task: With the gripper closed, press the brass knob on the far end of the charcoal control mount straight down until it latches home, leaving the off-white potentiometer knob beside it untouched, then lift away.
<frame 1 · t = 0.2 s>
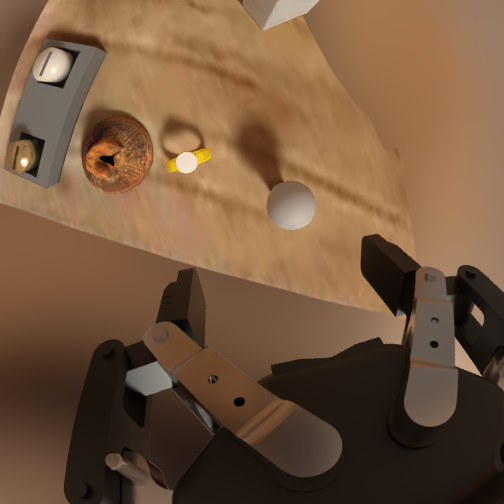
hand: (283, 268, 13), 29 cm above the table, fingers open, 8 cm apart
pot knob: (52, 65, 22), point 5 cm above the table, slide at 0.0 cm
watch: (190, 157, 37), on the table
knob mount: (53, 110, 29), on the table
broken clay vessel: (118, 154, 35), on the table
brass knob: (23, 155, 27), point 5 cm above the table, slide at 0.0 cm
lightbulb: (277, 189, 41), on the table
skincare box: (273, 10, 28), on the table
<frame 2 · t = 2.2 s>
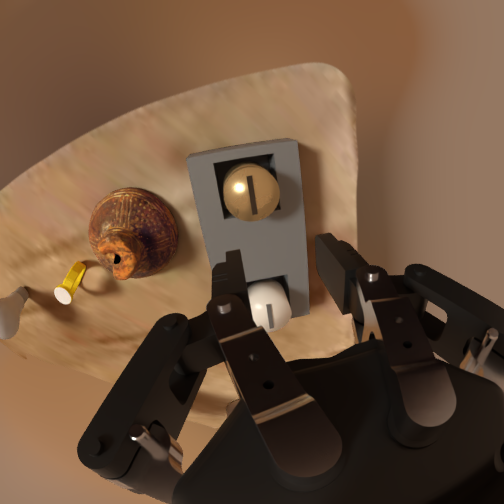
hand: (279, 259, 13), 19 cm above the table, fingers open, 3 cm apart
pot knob: (267, 305, 32), point 5 cm above the table, slide at 0.0 cm
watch: (79, 271, 33), on the table
knob mount: (253, 234, 34), on the table
broken clay vessel: (133, 231, 32), on the table
brass knob: (249, 190, 26), point 5 cm above the table, slide at 0.0 cm
lightbulb: (25, 289, 33), on the table
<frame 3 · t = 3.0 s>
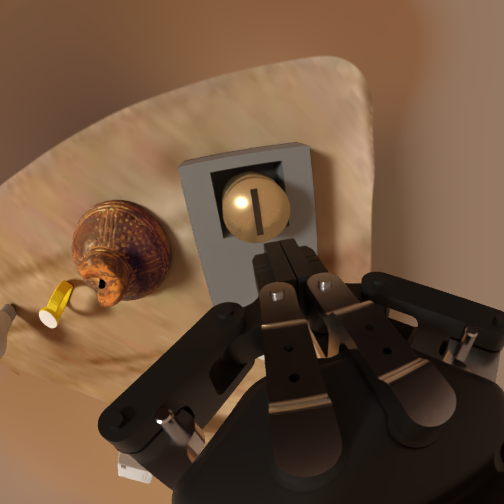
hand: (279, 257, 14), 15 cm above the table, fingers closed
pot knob: (272, 332, 28), point 5 cm above the table, slide at 0.0 cm
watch: (66, 290, 29), on the table
knob mount: (257, 252, 30), on the table
broken clay vessel: (121, 248, 28), on the table
brass knob: (253, 204, 22), point 5 cm above the table, slide at 0.0 cm
lightbulb: (13, 306, 29), on the table
skincare box: (144, 406, 41), on the table
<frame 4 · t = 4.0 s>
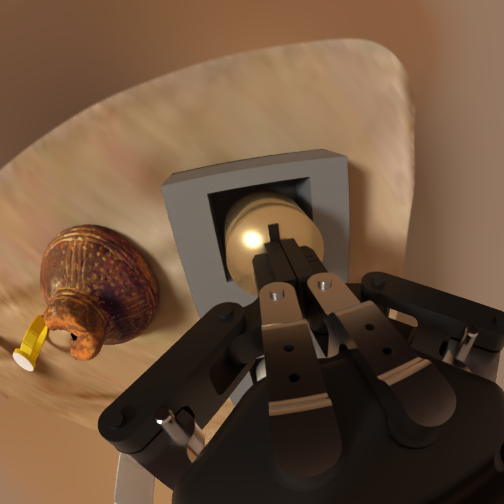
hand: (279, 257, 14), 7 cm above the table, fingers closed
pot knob: (287, 385, 22), point 5 cm above the table, slide at 0.0 cm
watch: (44, 324, 23), on the table
knob mount: (268, 288, 23), on the table
broken clay vessel: (98, 282, 22), on the table
brass knob: (270, 241, 15), point 5 cm above the table, slide at 0.0 cm, touching gripper
skincare box: (139, 437, 35), on the table
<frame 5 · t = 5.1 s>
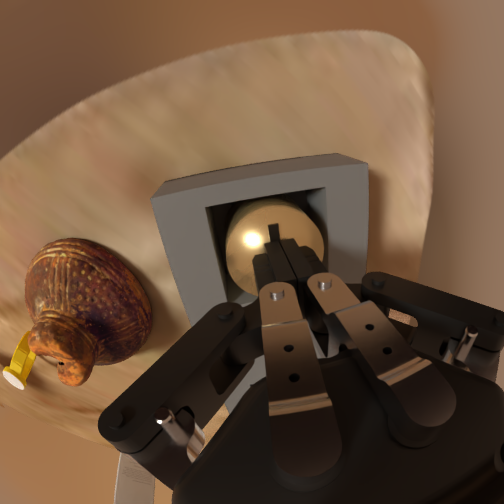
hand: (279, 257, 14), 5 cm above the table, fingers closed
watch: (35, 340, 21), on the table
knob mount: (274, 307, 21), on the table
broken clay vessel: (87, 299, 19), on the table
brass knob: (270, 241, 15), point 3 cm above the table, slide at 2.6 cm, touching gripper
skincare box: (138, 449, 33), on the table
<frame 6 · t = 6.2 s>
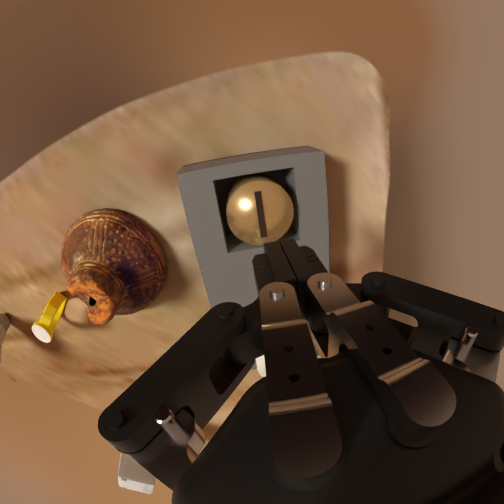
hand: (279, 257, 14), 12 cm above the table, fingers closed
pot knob: (279, 350, 26), point 5 cm above the table, slide at 0.0 cm
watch: (61, 302, 27), on the table
knob mount: (263, 264, 27), on the table
broken clay vessel: (113, 259, 26), on the table
brass knob: (257, 206, 22), point 3 cm above the table, slide at 2.6 cm
lightbulb: (7, 316, 27), on the table
skincare box: (143, 415, 39), on the table
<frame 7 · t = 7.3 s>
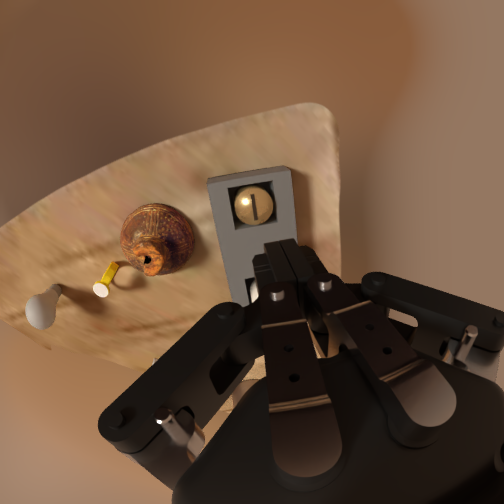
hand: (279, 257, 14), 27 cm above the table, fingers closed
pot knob: (267, 296, 41), point 5 cm above the table, slide at 0.0 cm
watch: (112, 270, 42), on the table
knob mount: (256, 240, 43), on the table
broken clay vessel: (157, 237, 41), on the table
brass knob: (252, 202, 37), point 3 cm above the table, slide at 2.6 cm
lightbulb: (58, 286, 43), on the table
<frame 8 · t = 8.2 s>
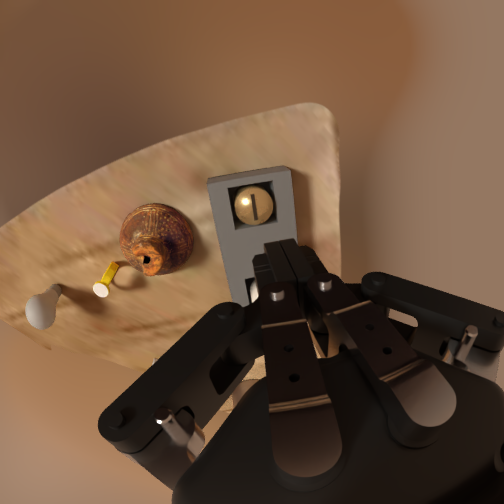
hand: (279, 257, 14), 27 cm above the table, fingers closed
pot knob: (267, 296, 41), point 5 cm above the table, slide at 0.0 cm
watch: (112, 270, 42), on the table
knob mount: (256, 240, 43), on the table
broken clay vessel: (156, 237, 41), on the table
brass knob: (252, 202, 37), point 3 cm above the table, slide at 2.6 cm
lightbulb: (58, 286, 43), on the table
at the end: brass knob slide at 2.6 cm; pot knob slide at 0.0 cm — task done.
